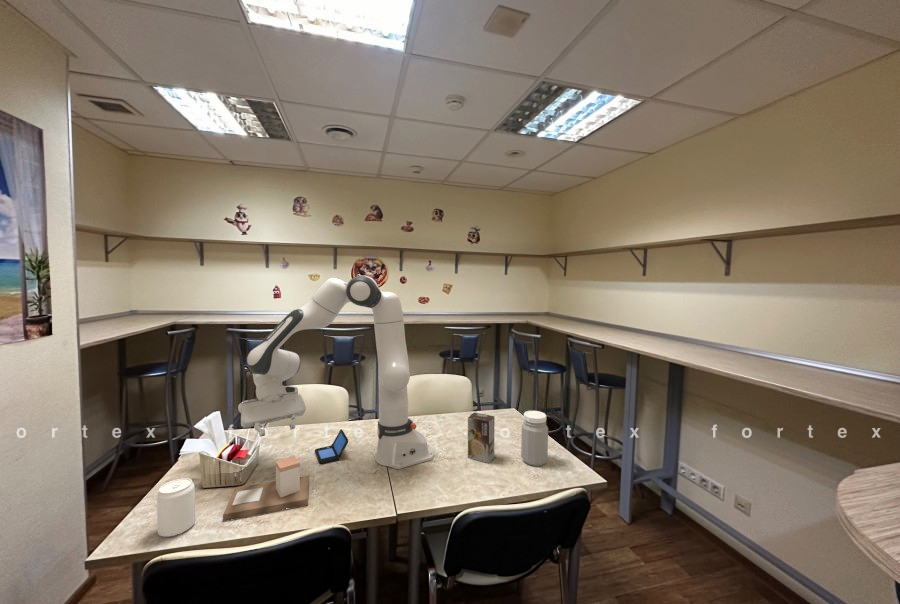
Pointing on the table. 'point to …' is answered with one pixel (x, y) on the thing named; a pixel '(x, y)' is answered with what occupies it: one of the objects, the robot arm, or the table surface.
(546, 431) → the jar
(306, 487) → the board
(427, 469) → the table surface
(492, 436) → the coffee box
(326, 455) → the handheld game console
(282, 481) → the white tall block
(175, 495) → the white cylinder
